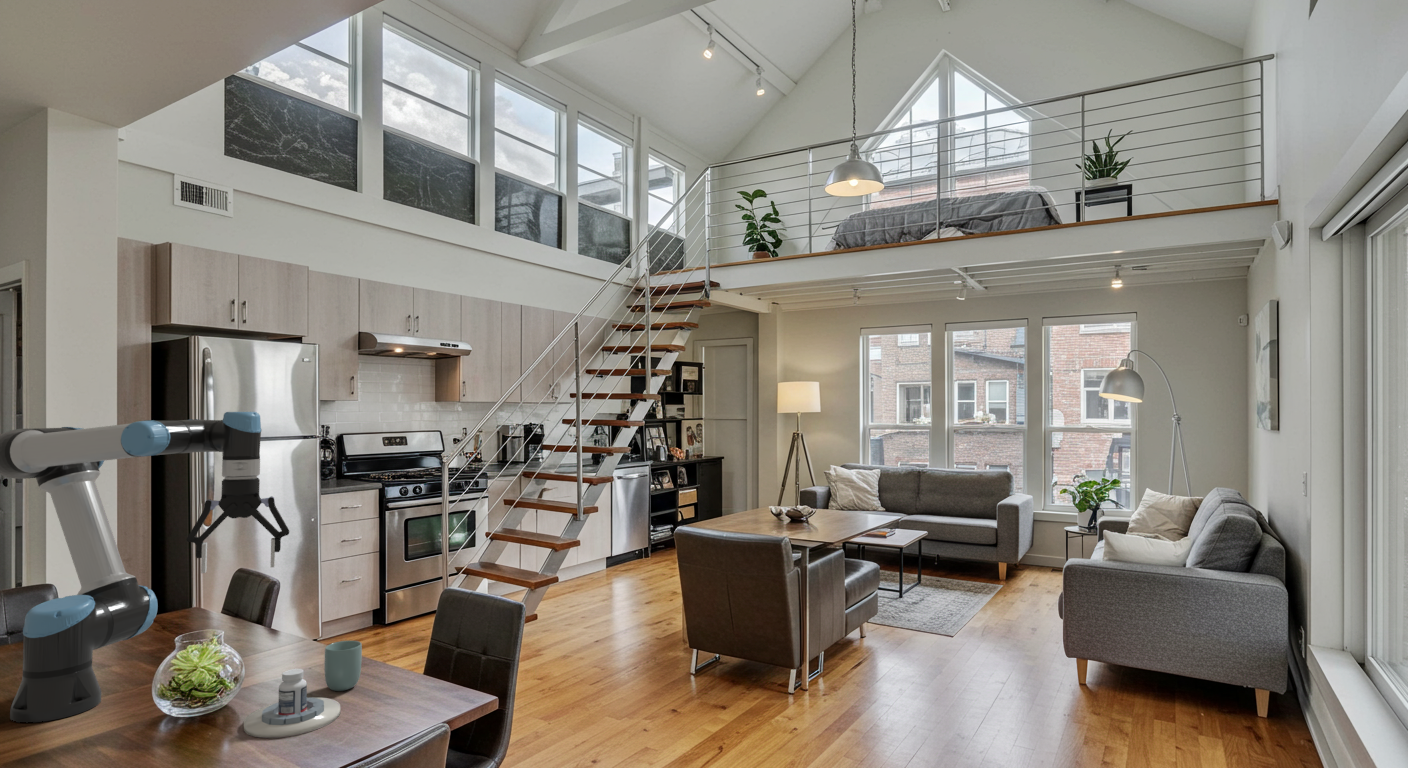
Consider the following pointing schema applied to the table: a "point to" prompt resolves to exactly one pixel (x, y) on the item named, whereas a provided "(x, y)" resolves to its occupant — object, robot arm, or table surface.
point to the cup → (342, 664)
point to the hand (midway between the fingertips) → (238, 569)
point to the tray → (291, 719)
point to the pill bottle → (292, 693)
